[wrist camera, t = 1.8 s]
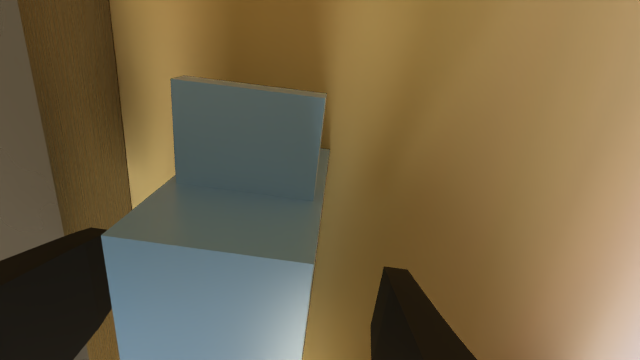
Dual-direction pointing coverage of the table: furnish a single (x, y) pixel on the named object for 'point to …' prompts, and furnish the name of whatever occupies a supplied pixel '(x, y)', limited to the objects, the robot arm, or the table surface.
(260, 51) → the table surface
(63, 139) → the chassis
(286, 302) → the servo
